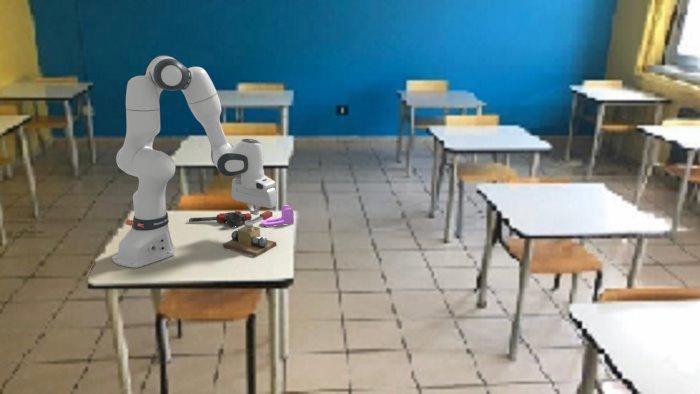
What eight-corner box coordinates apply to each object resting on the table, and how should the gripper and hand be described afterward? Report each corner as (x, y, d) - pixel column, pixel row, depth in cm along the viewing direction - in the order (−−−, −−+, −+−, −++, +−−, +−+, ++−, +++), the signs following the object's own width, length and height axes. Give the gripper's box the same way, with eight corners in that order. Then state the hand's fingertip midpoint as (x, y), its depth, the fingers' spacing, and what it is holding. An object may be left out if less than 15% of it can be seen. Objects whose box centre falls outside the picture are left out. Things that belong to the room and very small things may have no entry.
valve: (255, 219, 262) (249, 227, 247) (196, 221, 263) (186, 229, 248) (254, 205, 261) (248, 212, 246) (195, 207, 262) (185, 214, 247)
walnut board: (256, 257, 220) (256, 253, 220) (222, 247, 228) (222, 244, 227) (276, 245, 230) (276, 242, 230) (243, 237, 238) (243, 233, 237)
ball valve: (260, 250, 223) (260, 233, 221) (229, 242, 230) (228, 225, 228) (270, 245, 227) (269, 228, 225) (239, 237, 234) (238, 221, 232)
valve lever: (249, 228, 224) (249, 223, 224) (243, 226, 226) (243, 221, 225) (272, 216, 236) (272, 211, 236) (267, 215, 238) (267, 210, 237)
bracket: (290, 219, 257) (289, 204, 255) (293, 224, 252) (293, 208, 250) (260, 223, 253) (259, 207, 250) (263, 228, 248) (262, 212, 245)
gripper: (226, 178, 236) (228, 211, 240) (268, 186, 226) (269, 221, 230) (237, 174, 241) (239, 207, 245) (278, 182, 231) (279, 216, 235)
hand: (254, 214), depth 238 cm, fingers closed
